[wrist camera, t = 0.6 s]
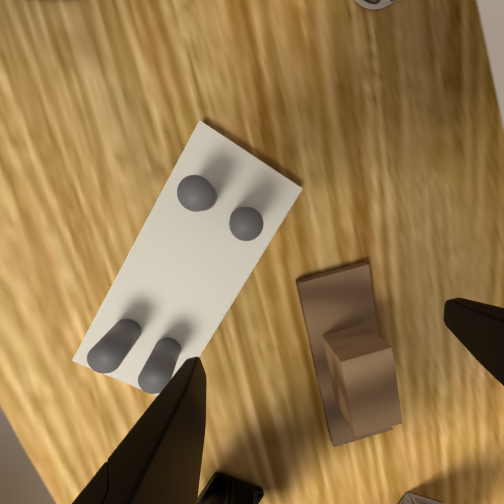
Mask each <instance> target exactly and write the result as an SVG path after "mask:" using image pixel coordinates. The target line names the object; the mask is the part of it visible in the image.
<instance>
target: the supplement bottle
mask: <svg viewBox="0 0 504 504" xmlns="http://www.w3.org/2000/svg"><path fill="white" fill-rule="evenodd" d="M354 1H355V2H356V3H357V4H359V5H360V6H362V7H364V8H367V9H373V10H376V9H382V8H385V7H387V6H389V5H390V4H392V3H393V2H394V1H395V0H354Z"/></svg>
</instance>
